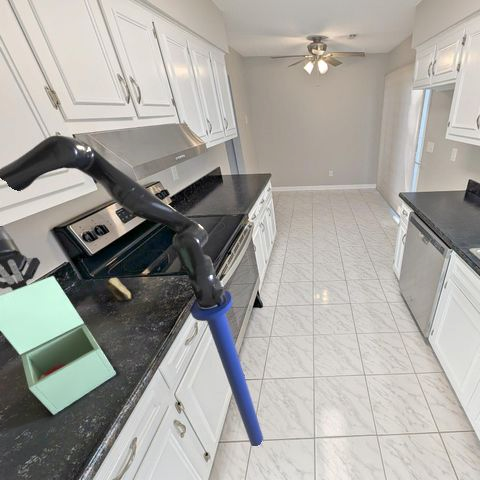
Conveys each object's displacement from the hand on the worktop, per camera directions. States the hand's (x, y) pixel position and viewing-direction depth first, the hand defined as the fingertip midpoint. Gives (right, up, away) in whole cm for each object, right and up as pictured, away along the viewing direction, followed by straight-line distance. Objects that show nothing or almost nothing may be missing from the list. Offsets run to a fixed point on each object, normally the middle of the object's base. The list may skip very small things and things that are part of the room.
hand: (24, 294), depth 71 cm
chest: (+12, -25, +4) cm, 28 cm away
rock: (-2, -8, +39) cm, 40 cm away
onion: (+12, -24, +3) cm, 27 cm away
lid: (+4, -5, 0) cm, 7 cm away
